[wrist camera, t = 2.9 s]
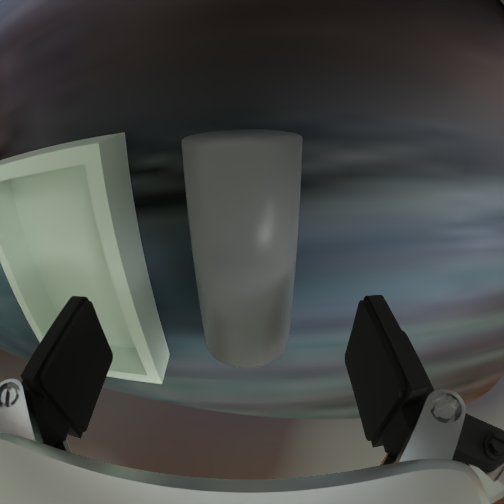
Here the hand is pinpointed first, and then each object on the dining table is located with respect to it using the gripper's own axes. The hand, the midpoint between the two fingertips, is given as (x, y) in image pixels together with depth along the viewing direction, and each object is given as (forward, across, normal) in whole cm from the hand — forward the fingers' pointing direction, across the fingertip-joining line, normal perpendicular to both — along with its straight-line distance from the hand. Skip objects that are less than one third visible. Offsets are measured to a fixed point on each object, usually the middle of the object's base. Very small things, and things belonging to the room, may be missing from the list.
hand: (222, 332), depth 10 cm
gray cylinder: (+6, -1, -1) cm, 6 cm away
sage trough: (+6, +9, +1) cm, 11 cm away
